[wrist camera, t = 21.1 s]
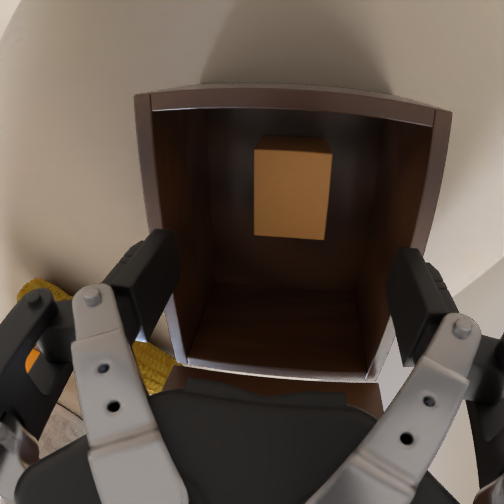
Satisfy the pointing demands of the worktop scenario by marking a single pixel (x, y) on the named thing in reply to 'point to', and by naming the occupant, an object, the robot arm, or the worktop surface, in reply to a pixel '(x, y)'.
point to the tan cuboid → (291, 186)
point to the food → (147, 355)
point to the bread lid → (283, 386)
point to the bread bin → (283, 248)
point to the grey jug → (58, 433)
